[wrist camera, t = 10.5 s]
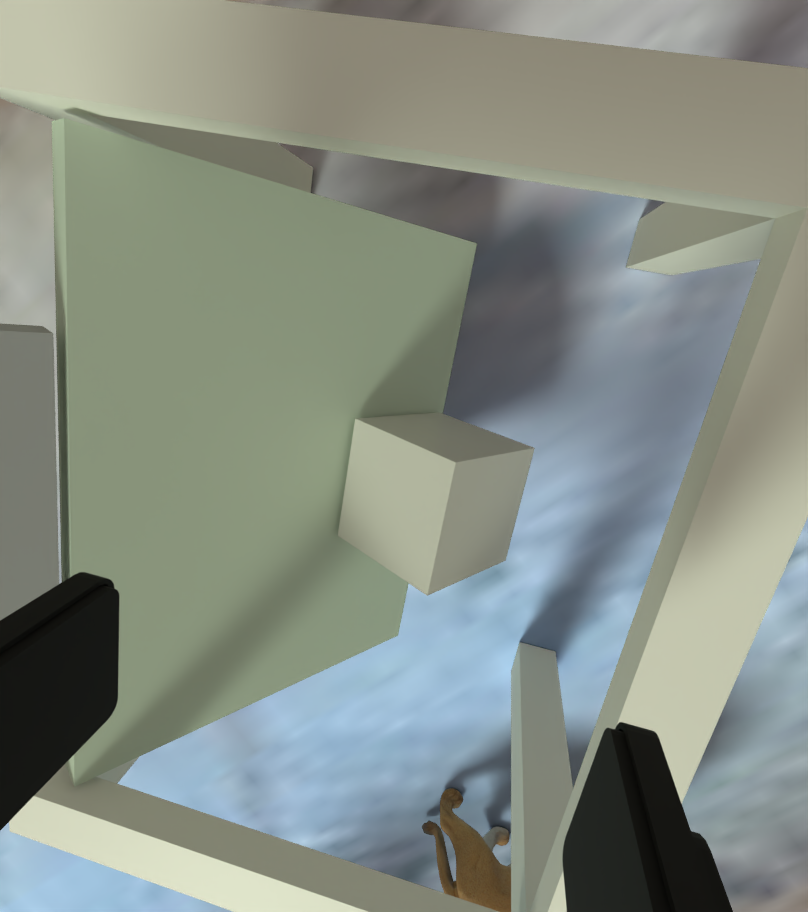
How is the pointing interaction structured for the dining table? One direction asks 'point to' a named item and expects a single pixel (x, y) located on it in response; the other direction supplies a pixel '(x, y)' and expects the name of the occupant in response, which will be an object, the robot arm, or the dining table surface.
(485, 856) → the lion figurine
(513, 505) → the stone block
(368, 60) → the trapdoor frame
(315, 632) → the trapdoor plate
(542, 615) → the dining table surface
